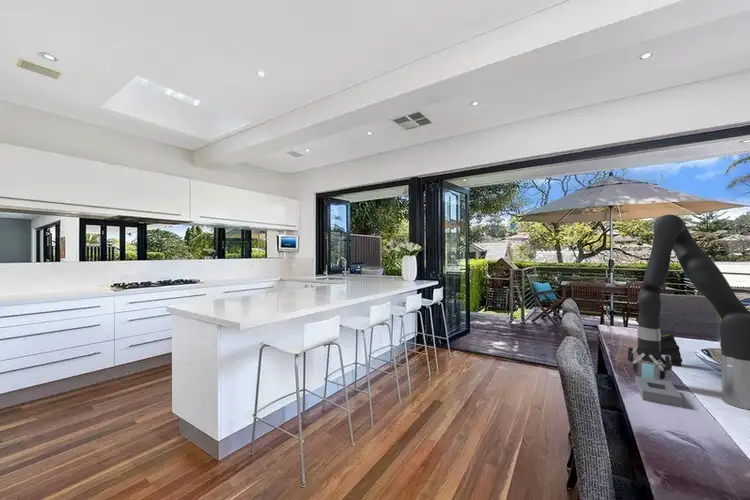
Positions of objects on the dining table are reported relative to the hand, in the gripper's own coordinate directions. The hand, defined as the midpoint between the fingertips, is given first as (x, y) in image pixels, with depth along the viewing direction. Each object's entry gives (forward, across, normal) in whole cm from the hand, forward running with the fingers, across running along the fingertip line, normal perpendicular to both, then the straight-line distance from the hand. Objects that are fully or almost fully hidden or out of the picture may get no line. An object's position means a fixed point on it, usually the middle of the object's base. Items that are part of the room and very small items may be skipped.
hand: (648, 375), depth 134 cm
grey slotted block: (+3, -6, +12) cm, 14 cm away
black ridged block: (+3, +5, -34) cm, 34 cm away
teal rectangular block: (+3, 0, 0) cm, 3 cm away
